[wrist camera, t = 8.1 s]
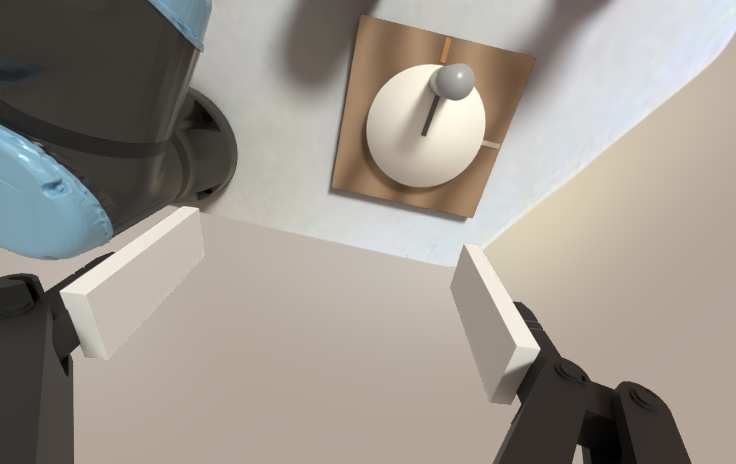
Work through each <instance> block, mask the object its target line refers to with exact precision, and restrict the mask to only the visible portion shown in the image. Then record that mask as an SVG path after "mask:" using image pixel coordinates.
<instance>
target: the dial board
mask: <svg viewBox="0 0 736 464" xmlns="http://www.w3.org/2000/svg"><path fill="white" fill-rule="evenodd" d="M535 60H536V57H532V56H528V55H524V54H520V53H516V52H512V51H508V50H504V49H499V48H495V47H491V46H487V45H483V44H479V43H475V42H471V41H467V40H463V39H459V38H455V37H451V36H447V35H443V34H439V33H435V32H431V31H426V30H422V29H418V28H414V27H410V26H406V25H402V24H398V23H394V22H390V21H386V20H382V19H378V18H374V17H370V16H366V15H362V14H360V20H359V26H358V32H357V38H356V44H355V50H354V56H353V62H352V68H351V74H350V80H349V86H348V92H347V98H346V104H345V110H344V116H343V122H342V128H341V134H340V140H339V146H338V152H337V158H336V163H335V169H334V175H333V181H332V188H337V189H341V190H346V191H351V192H355V193H360V194H364V195H369V196H373V197H378V198H382V199H387V200H392V201H396V202H401V203H405V204H410V205H414V206H419V207H423V208H428V209H433V210H437V211H442V212H446V213H451V214H455V215H460V216H464V217H469V218H473V216H474V214H475V211H476V209H477V206H478V204H479V201H480V198H481V196H482V193H483V191H484V188H485V186H486V183H487V181H488V178H489V176H490V173H491V171H492V168H493V166H494V163H495V161H496V158H497V156H498V153H499V151H500V148H501V145H502V143H503V140H504V138H505V135H506V133H507V130H508V128H509V125H510V123H511V120H512V118H513V115H514V113H515V110H516V108H517V105H518V103H519V100H520V98H521V95H522V92H523V90H524V87H525V85H526V82H527V80H528V77H529V75H530V72H531V70H532V67H533V65H534V62H535ZM457 63H462V64H466V65H468V66H469V67H470V68H471V69H472V71H473V72H474V76H475V84H474V87H475V88H476V90H477V92H478V93H479V95H480V98H481V100H482V103H483V106H484V111H485V132H484V137H483V141H482V143H481V146H480V149H479V151H478V152H477V154H476V156H475V158H474V159H473V160H472V162H471V163H470V164H469V165H468V167H467V168H466V169H465V170H464V171H462V172H461V173H460V174H459V175H457V176H456V177H455V178H453V179H451V180H449V181H447V182H445V183H442V184H440V185H436V186H431V187H412V186H407V185H404V184H401V183H399V182H397V181H395V180H393V179H392V178H390V177H389V176H387V175H386V174H385V173H384V172H383V171H382V170H381V169H380V168H379V166H378V165H377V164H376V162H375V160H374V159H373V157H372V155H371V152H370V149H369V146H368V142H367V132H366V127H367V119H368V114H369V111H370V108H371V105H372V103H373V101H374V99H375V97H376V95H377V94H378V92H379V91H380V90H381V88H382V87H383V86H384V85H385V84H386V83H387V82H388V81H389V80H390V79H391V78H393V77H394V76H395V75H397V74H398V73H400V72H402V71H404V70H406V69H409V68H412V67H415V66H419V65H429V64H433V65H441V66H448V65H453V64H457Z"/></svg>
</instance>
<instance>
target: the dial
mask: <svg viewBox="0 0 736 464" xmlns="http://www.w3.org/2000/svg"><path fill="white" fill-rule="evenodd" d="M474 84H475V76H474V72H473V71H472V69H471V68H470V67H469V66H468V65H466V64H462V63H457V64H453V65H448V66H441V65H433V64H429V65H419V66H415V67H412V68H409V69H406V70H404V71H402V72H400V73H398V74H397V75H395V76H394V77H393V78H391V79H390V80H389V81H388V82H387V83H386V84H385V85H384V86H383V87H382V88H381V90H380V91H379V92H378V94H377V95H376V97H375V99H374V101H373V103H372V105H371V108H370V111H369V114H368V119H367V127H366V132H367V142H368V146H369V149H370V152H371V155H372V157H373V159H374V160H375V162H376V164H377V165H378V166H379V168H380V169H381V170H382V171H383V172H384V173H385V174H386V175H387V176H389V177H390V178H392V179H393V180H395V181H397V182H399V183H401V184H404V185H407V186H412V187H431V186H436V185H440V184H442V183H445V182H447V181H449V180H451V179H453V178H455V177H456V176H457V175H459V174H460V173H461V172H462V171H464V170H465V169H466V168H467V167H468V165H469V164H470V163H471V162H472V160H473V159H474V158H475V156H476V154H477V152H478V151H479V149H480V146H481V143H482V141H483V137H484V132H485V111H484V106H483V103H482V100H481V98H480V95H479V93H478V92H477V90H476V88H475V87H474Z"/></svg>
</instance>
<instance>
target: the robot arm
mask: <svg viewBox="0 0 736 464" xmlns="http://www.w3.org/2000/svg"><path fill="white" fill-rule="evenodd" d="M211 9H212V0H0V247H1V248H4V249H6V250H8V251H11V252H14V253H16V254H19V255H22V256H26V257H30V258H35V259H41V260H59V259H68V258H72V257H75V256H78V255H80V254H82V253H85V252H87V251H89V250H91V249H94V248H96V247H98V246H102V245H104V244H106V243H108V242H109V240H111V238H113V237H115V236H116V235H118V234H120V233H121V232H123V231H125V230H126V229H128V228H130V227H131V226H133V225H135V224H137V223H138V222H140V221H141V220H143V219H145V218H147V217H149V216H150V215H152V214H154V213H155V212H157V211H159V210H161V209H162V208H164V207H165V206H167V205H169V204H171V203H180V202H192V201H199V200H202V199H205V198H208V197H210V196H212V195H213V194H215V193H216V192H218V191H219V190H221V189H222V188H223V187H225V186H226V185H227V184H228V182H229V181H230V179H231V178H232V176H233V174H234V172H235V169H236V165H237V145H236V140H235V137H234V134H233V131H232V129H231V126H230V125H229V123H228V121H227V119H226V118H225V116H224V115H223V113H222V112H221V111H220V110H219V108H218V107H217V106H216V105H215V104H214V103H213V102H212V101H211V100H209V99H208V98H207V97H206V96H204V95H203V94H201V93H200V92H198V91H196V90H194V89H192V88H190V87H189V85H190V82H191V79H192V76H193V73H194V70H195V67H196V64H197V61H198V58H199V55H200V52H202V53H203V51H204V45H203V39H204V36H205V32H206V28H207V24H208V21H209V17H210V13H211ZM204 257H205V254H204V247H203V237H202V229H201V221H200V212H199V208H194V207H186V206H182V207H181V208H180V209H178V210H177V211H175V212H174V213H173V214H171V215H169V216H168V217H167V218H165V219H164V220H162V221H161V222H159V223H158V224H156V225H155V226H154V227H152V228H151V229H149V230H148V231H146V232H145V233H143V234H142V235H140V236H139V237H138V238H136V239H135V240H133V241H132V242H130V243H129V244H127V245H126V246H125V247H123V248H122V249H120V250H119V251H118V252H111V253H108V254H105V255H103V256H100V257H98V258H96V259H94V260H93V261H91V262H90V263H88V264H87V265H85V267H84V268H81V269H79V270H78V271H76V272H75V274H72V275H70V276H69V277H67V278H66V279H64V280H63V281H61V282H60V283H58V284H57V285H55V286H54V287H52V288H51V289H49V290H48V291H46V292H45V293H44V290H43V288H42V285H41V283H40V281H39V278H38V276H36V275H33V274H24V273H20V274H12V275H7V276H3V277H0V464H74V424H73V423H74V422H73V421H74V420H73V419H74V418H73V417H74V416H73V360H72V357H71V355H70V353H71V352H72V351H73V350H74V349H75V348H76V347H77V346H79V345H80V346H81V348H82V351H83V353H84V356H85V357H89V358H98V359H107V360H108V359H109V358H110V357H111V356H112V355H113V354H114V353H115V352H116V351H117V350H118V349H119V348H120V347H121V346H122V345H123V343H124V342H125V341H126V340H127V339H128V338H129V337H130V336H131V335H132V334H133V333H134V331H135V330H137V328H138V327H139V326H140V325H141V324H142V323H143V322H144V321H145V320H146V319H147V318H148V317H149V315H150V314H151V313H152V312H153V311H154V310H155V309H156V308H157V307H158V306H159V305H160V304H161V303H162V301H164V299H165V298H166V297H167V296H168V295H169V294H170V293H171V292H172V291H173V290H174V289H175V288H176V287H177V286H178V284H179V283H180V282H181V281H182V280H183V279H184V278H185V277H186V276H187V275H188V274H189V273H190V272H191V271H192V270H193V268H194V267H195V266H196V265H197V264H198V263H199V262H200V261H201V260H202V259H203V258H204ZM450 288H451V292H452V294H453V297H454V300H455V303H456V306H457V309H458V311H459V315H460V318H461V321H462V323H463V327H464V329H465V332H466V335H467V338H468V341H469V344H470V347H471V350H472V353H473V356H474V358H475V361H476V364H477V367H478V370H479V373H480V376H481V379H482V382H483V385H484V388H485V390H486V393H487V396H488V399H489V402H491V403H499V404H508V405H511V403H512V401H513V400H514V398H515V396H516V394H517V395H518V397H519V399H520V402H521V404H522V405H521V407H520V408H519V410H518V412H517V414H516V415H515V417H514V419H513V421H512V423H511V427H510V429H509V431H508V433H507V435H506V437H505V439H504V441H503V443H502V446H501V447H500V449H499V452H498V454H497V456H496V458H495V460H494V462H493V464H572V461H573V457H574V453H575V449H576V445H577V444H578V445H581V446H582V454H583V464H691V461H690V459H689V456H688V454H687V451H686V449H685V446H684V444H683V441H682V439H681V436H680V433H679V431H678V428H677V426H676V423H675V421H674V418H673V416H672V413H671V411H670V410H669V408H668V406H667V405H666V404H665V403H664V402H663V401H662V400H661V399H660V397H658V396H657V395H656V394H655V393H653V392H652V391H650V390H649V389H647V388H645V387H643V386H641V385H639V384H637V383H633V382H629V381H628V382H625V381H624V382H622V383H620V384H619V385H618V386H617V388H616V389H615V390H614V389H611V388H609V387H606V386H603V385H600V384H598V383H595V382H592V381H591V380H590V379H589V377H588V375H587V374H586V373H585V372H584V371H583V370H582V369H581V368H580V367H579V366H578V365H576V364H575V363H573V362H571V361H569V360H567V359H565V358H562V357H561V356H560V354H559V353H558V351H557V350H556V348H555V346H554V345H553V343H552V342H551V340H550V339H549V337H548V336H547V334H546V333H545V331H543V328H542V326H541V325H540V323H538V320H537V319H536V317H535V316H534V314H533V313H532V311H531V310H530V309H528V308H527V307H526V306H525V305H524V304H522V303H521V302H514V301H512V300H511V299H510V297H509V295H508V293H507V292H506V290H505V288H504V287H503V285H502V284H501V282H500V280H499V278H498V277H497V275H496V273H495V272H494V270H493V269H492V266H491V265H490V264H489V261H488V260H487V258H486V256H485V255H484V253H483V251H482V250H481V248H480V246H479V245H473V244H465V243H464V245H463V248H462V251H461V254H460V258H459V261H458V264H457V267H456V270H455V273H454V277H453V280H452V283H451V286H450Z"/></svg>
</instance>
